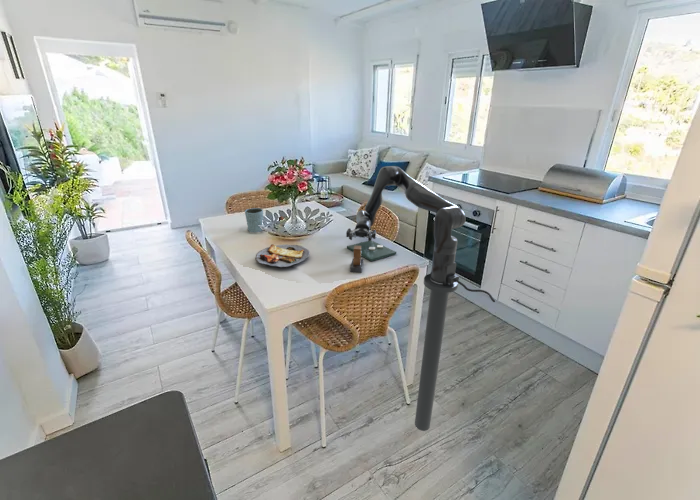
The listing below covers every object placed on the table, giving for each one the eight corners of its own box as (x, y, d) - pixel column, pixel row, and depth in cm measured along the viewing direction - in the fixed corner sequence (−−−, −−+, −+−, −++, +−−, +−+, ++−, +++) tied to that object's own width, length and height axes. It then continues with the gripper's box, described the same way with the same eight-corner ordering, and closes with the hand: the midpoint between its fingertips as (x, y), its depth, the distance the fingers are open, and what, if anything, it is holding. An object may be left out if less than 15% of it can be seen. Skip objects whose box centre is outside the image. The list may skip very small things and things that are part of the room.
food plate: (245, 263, 160) (245, 256, 158) (273, 245, 179) (273, 239, 178) (293, 273, 151) (293, 266, 150) (317, 253, 171) (317, 246, 170)
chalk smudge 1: (375, 248, 177) (375, 247, 176) (374, 250, 174) (374, 249, 174) (369, 247, 177) (369, 246, 177) (368, 250, 174) (368, 248, 174)
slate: (396, 254, 173) (396, 251, 172) (371, 261, 164) (371, 259, 164) (370, 242, 188) (371, 240, 187) (346, 248, 179) (346, 246, 179)
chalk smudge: (383, 246, 179) (383, 245, 179) (382, 248, 177) (382, 247, 176) (377, 245, 180) (377, 244, 179) (376, 247, 177) (376, 246, 177)
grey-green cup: (256, 234, 196) (254, 214, 191) (242, 231, 201) (240, 211, 196) (268, 229, 204) (266, 209, 199) (255, 226, 209) (253, 206, 204)
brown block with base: (363, 263, 161) (364, 243, 158) (361, 273, 152) (362, 252, 148) (352, 263, 162) (353, 243, 158) (350, 272, 153) (350, 251, 149)
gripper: (349, 220, 178) (345, 230, 163) (377, 221, 176) (375, 232, 161) (349, 233, 181) (344, 245, 166) (376, 235, 179) (374, 247, 164)
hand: (359, 238), depth 164 cm, fingers open, 8 cm apart
